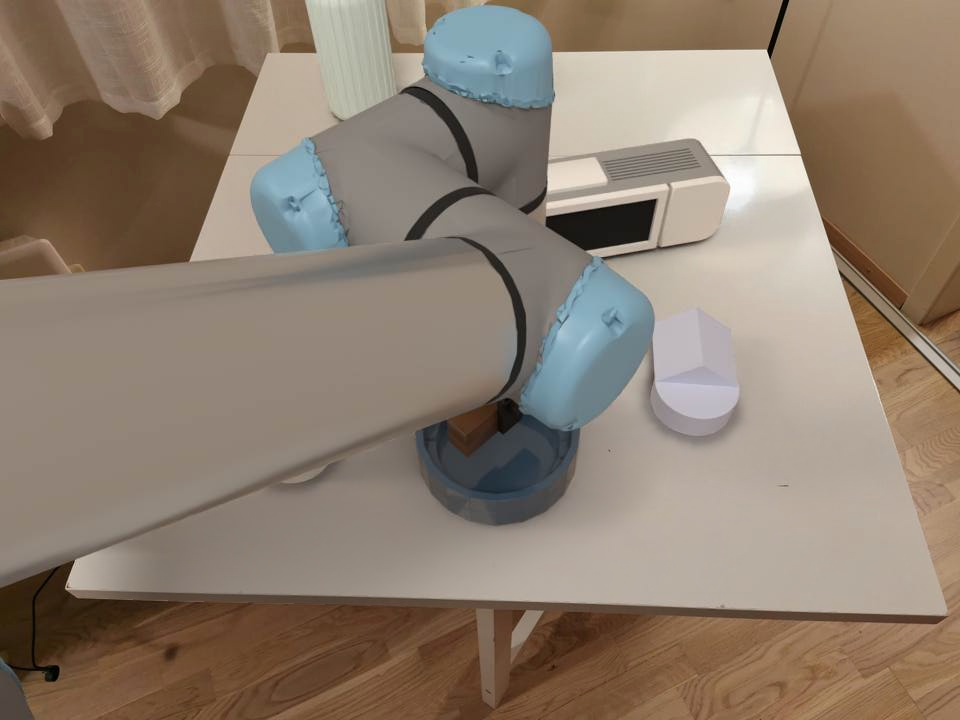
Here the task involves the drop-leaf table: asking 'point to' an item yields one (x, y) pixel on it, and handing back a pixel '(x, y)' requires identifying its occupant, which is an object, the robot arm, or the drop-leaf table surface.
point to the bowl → (499, 471)
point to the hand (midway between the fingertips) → (498, 414)
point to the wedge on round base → (693, 373)
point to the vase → (353, 53)
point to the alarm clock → (636, 197)
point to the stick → (473, 428)
